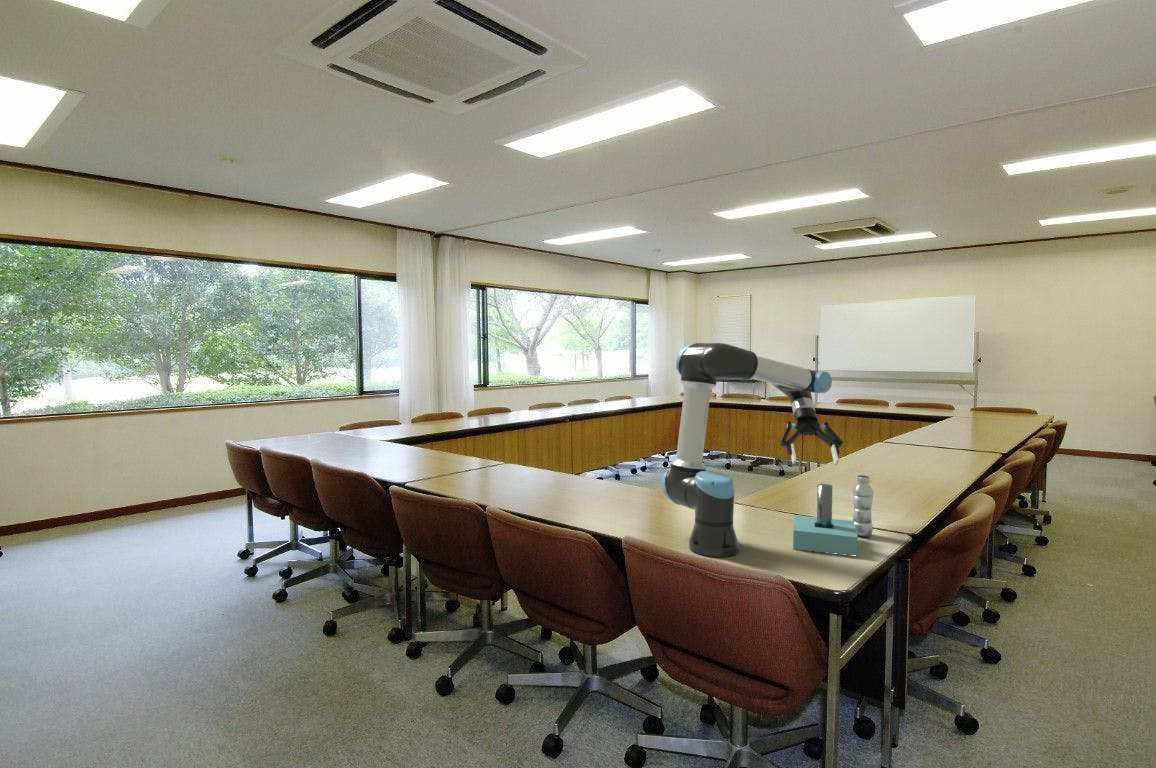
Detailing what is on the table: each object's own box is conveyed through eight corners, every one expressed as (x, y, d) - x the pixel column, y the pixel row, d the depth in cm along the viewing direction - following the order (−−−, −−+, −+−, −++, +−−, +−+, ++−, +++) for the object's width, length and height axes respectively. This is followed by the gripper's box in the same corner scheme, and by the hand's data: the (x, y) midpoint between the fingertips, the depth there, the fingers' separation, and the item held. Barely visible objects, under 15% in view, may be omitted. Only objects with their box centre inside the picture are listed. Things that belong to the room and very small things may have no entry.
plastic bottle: (848, 535, 192) (849, 476, 191) (855, 531, 197) (857, 473, 196) (868, 540, 187) (870, 479, 186) (875, 535, 192) (877, 476, 191)
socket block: (793, 549, 179) (793, 530, 178) (794, 532, 195) (794, 515, 195) (857, 556, 172) (857, 537, 171) (852, 538, 188) (853, 520, 188)
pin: (816, 542, 182) (817, 486, 181) (816, 538, 186) (817, 483, 185) (831, 543, 181) (832, 487, 180) (831, 539, 185) (832, 484, 184)
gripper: (838, 420, 208) (851, 469, 194) (767, 419, 211) (775, 467, 197) (843, 407, 202) (857, 456, 188) (770, 406, 205) (779, 454, 191)
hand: (815, 462), depth 193 cm, fingers open, 13 cm apart
